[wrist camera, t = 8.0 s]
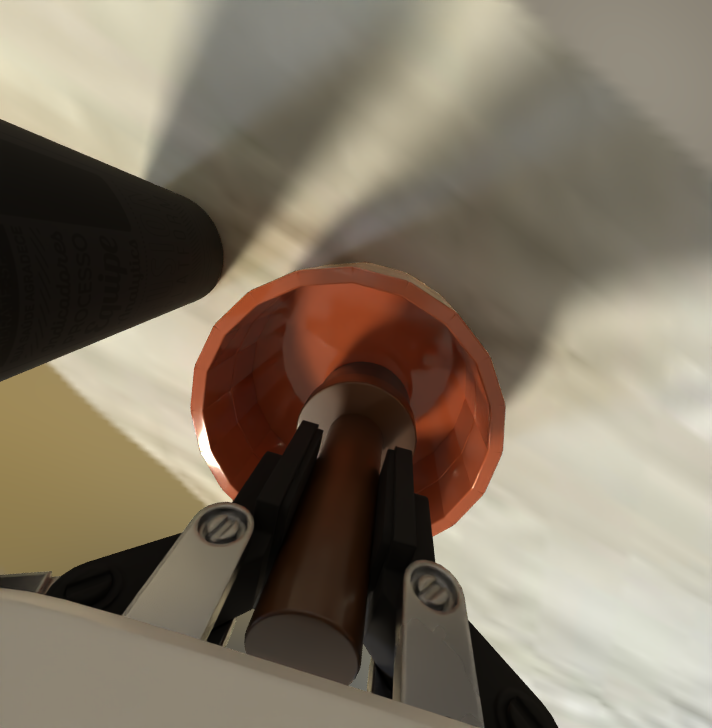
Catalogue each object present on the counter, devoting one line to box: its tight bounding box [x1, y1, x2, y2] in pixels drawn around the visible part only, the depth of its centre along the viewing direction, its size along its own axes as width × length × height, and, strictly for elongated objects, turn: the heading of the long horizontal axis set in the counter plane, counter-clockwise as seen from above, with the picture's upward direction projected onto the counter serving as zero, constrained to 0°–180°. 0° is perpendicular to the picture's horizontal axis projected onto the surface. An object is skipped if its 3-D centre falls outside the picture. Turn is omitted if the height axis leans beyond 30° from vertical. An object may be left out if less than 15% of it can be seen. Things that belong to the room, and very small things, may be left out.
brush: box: [244, 362, 417, 686], centre depth 12 cm, size 5×5×11 cm
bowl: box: [191, 262, 506, 537], centre depth 15 cm, size 11×11×5 cm
